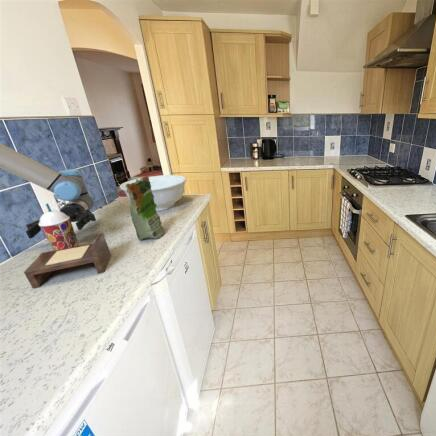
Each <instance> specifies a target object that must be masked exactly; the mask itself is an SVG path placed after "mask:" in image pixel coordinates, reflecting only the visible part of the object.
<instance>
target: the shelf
mask: <svg viewBox="0 0 436 436" xmlns="http://www.w3.org/2000/svg"><path fill="white" fill-rule="evenodd" d="M111 256H112V252H111V250H110V247H109V244H108V243H107V240H106V236H105V234H104V233H99V234H98V235H97V237H96V239H95V240H94V242H93V243H88V244H83V245H79V246H76V247H71V248H66V249H60V250H55V251H54V250H50V251H44V252H41V253H40V254H39V255H38V257H36V258H35V259H34V260H33V262H32V263H31V264H30V265H29V266H28V267H27V268H26V269H25V270H24V271H23V273H24V275H25V277H26V280H28V281H27V282H29V285H30V286H31V287H32V289H37V288H40V287H41V286H42V285H43V283H44V282H45V281H46V279H47V278H48V277H49V275H50V274H51V273H52V272H55V271H58V270H64V269H67V268H73V267H77V266H82V265H86V264H92V263H93V264H94V267H95V270H96V272H97V274H102V273H105V271H106V268H107V266H108V264H109V261H110V260H111Z"/></svg>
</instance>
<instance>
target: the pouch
mask: <svg viewBox="0 0 436 436" xmlns="http://www.w3.org/2000/svg"><path fill="white" fill-rule="evenodd" d="M149 177H150V176H143V177H140V178H141V179H140V180H137V179H138V178H136V182H134V183H132V184H127V185H126V187H127V192H128V193H129V197H130V200H131V201H130V200H129V201H130V205H129V208H130V211H131V212H130V217H131V220H132V224H133V227H134V230H135V232H136V237H137V239H138V241H142V240H147V239H155V240H158V239H160V238H162V237H163V236H164V235H165V229H164V227H163V225H162V219H161V217H160V215H159V214H158V213H157V212H158V211H156V206H157V205H156V204H155V203H154V195H153V194H152V191H151V185H150V181H149Z"/></svg>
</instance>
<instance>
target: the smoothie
mask: <svg viewBox="0 0 436 436" xmlns="http://www.w3.org/2000/svg"><path fill="white" fill-rule="evenodd" d="M45 206H46V208H47V211H46V212H44V213H43V214H42V215H40V217H39V219H40V220H39V219H38V220H39V223H38V225H39V226H40V227H41V232H43V235H44V236H45V237H46V239H47V241H48V242H49V245H50V246H51V248H52V249H53V251H55V250H60V249H66V248H71V247H76V246H80V243H79V241H78V237H77V234H76V233H75V229H74V226H73V224H72V223H73V222H71V220H70V217H69V216H67V215H66V214H65V213H63V212H61V211H60V210H55V209H54V210H52V209H51V207H50V205H49V203H45Z"/></svg>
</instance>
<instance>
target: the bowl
mask: <svg viewBox="0 0 436 436" xmlns="http://www.w3.org/2000/svg"><path fill="white" fill-rule="evenodd" d="M148 177H149V181H150V185H151V191H152V194H153V195H154V203H155V204H156V205H157V206H156V212H158V211H160V212H161V211H165V210H168V209H171V208H173V207H175V205H176V202H178V201H179V200H180V199H181V198H182V197H183V196H184V194H185V185H186V182H187V177H186V176H183V175H176V174H164V175H163V174H162V175H154V176H148ZM141 178H142V177H140V178H136V179H137V180H140V179H141ZM136 179H131V180H128V181H124V182H123V183H121V184H120V185H119V189H120V190H121V191H123V192H124V193H125V196H126V197H127V199H128V200H129V201H130V202H131V200H130V197H129V193H128V192H127V187H126V185H127V184H132V183H134V182H136Z"/></svg>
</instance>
